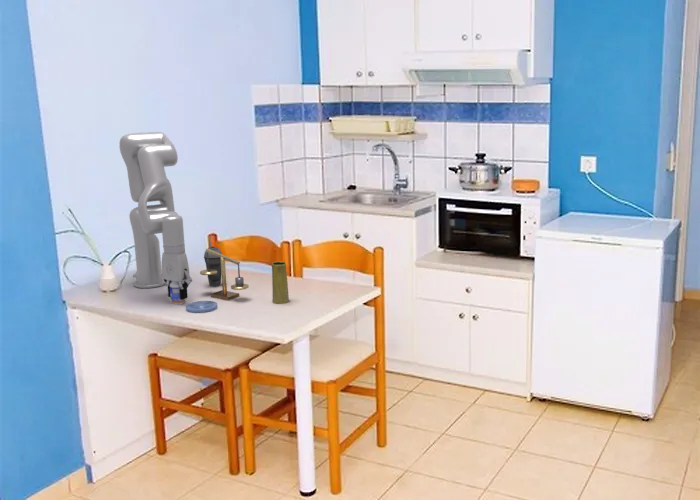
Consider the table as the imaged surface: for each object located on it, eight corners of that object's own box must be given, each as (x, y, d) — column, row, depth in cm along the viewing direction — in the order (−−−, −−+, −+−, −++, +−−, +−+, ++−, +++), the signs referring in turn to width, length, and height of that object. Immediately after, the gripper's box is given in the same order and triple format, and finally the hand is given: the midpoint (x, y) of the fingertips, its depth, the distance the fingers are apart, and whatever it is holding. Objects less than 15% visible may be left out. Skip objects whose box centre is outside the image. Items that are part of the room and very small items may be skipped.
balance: (197, 294, 290) (194, 249, 286) (210, 290, 295) (207, 246, 292) (241, 303, 278) (238, 256, 274) (252, 298, 283) (250, 252, 279)
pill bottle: (172, 300, 284) (169, 275, 281) (186, 299, 284) (184, 274, 282) (169, 304, 278) (167, 278, 276) (185, 304, 279) (183, 278, 277)
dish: (179, 310, 272) (179, 306, 271) (201, 302, 281) (201, 298, 280) (201, 314, 266) (201, 311, 265) (223, 306, 274) (223, 303, 274)
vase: (276, 304, 275) (274, 266, 272) (269, 300, 280) (267, 262, 277) (291, 302, 278) (290, 263, 275) (285, 298, 283) (283, 260, 280)
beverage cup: (220, 288, 299) (217, 237, 294) (202, 287, 300) (199, 237, 296) (227, 283, 306) (223, 233, 301) (209, 282, 307) (206, 233, 303)
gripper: (150, 248, 279) (154, 296, 283) (183, 254, 269) (186, 303, 273) (165, 244, 285) (169, 291, 289) (198, 249, 275) (202, 298, 279)
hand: (178, 297), depth 281 cm, fingers closed on pill bottle, 5 cm apart
